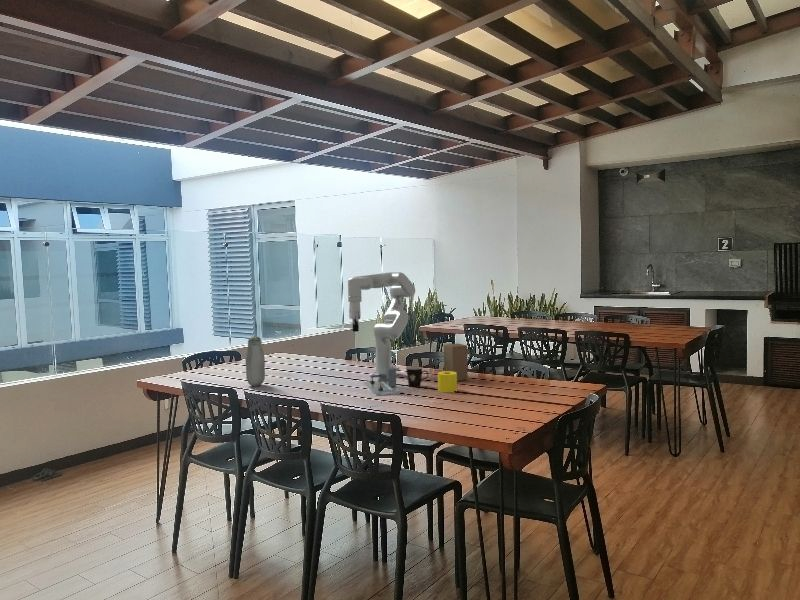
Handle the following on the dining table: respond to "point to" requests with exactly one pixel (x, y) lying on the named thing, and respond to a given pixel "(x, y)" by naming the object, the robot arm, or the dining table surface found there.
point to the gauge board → (384, 388)
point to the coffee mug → (415, 376)
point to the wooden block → (456, 360)
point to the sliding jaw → (389, 377)
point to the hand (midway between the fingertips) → (355, 331)
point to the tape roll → (447, 381)
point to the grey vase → (255, 362)
